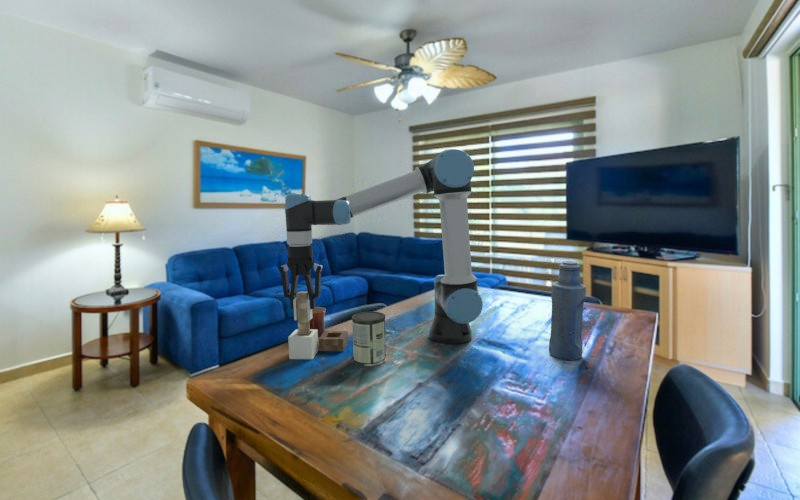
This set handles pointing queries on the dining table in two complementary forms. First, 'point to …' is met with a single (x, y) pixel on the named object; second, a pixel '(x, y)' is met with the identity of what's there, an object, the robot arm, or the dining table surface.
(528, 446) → the dining table surface
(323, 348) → the socket block
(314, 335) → the white hollow square frame
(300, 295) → the dowel
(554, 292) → the bottle
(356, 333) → the coffee can
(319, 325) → the mug
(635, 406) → the dining table surface
